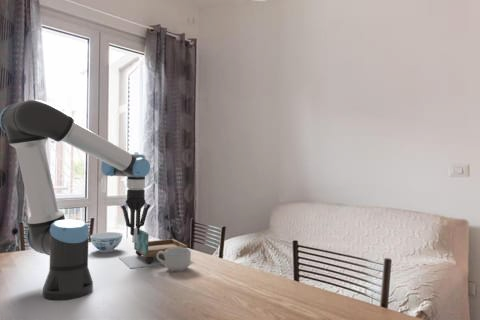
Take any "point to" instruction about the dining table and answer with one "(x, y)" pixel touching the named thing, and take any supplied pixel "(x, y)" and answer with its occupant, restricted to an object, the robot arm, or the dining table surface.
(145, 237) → the cart
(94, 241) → the chinaware
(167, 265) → the teacup
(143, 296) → the dining table surface
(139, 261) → the track mat
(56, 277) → the robot arm
